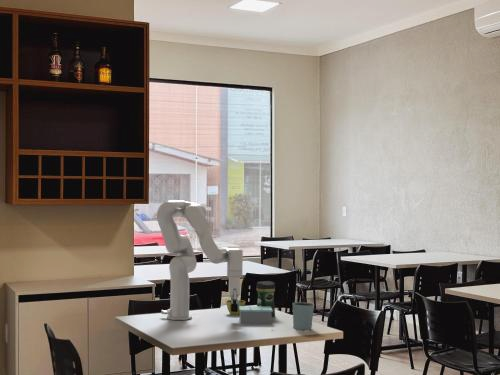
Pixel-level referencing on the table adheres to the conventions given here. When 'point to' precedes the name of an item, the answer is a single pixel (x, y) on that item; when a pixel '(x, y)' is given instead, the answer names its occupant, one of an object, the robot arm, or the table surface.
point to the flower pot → (228, 302)
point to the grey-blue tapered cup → (302, 315)
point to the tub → (255, 317)
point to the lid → (253, 308)
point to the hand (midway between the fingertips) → (234, 310)
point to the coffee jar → (266, 294)
